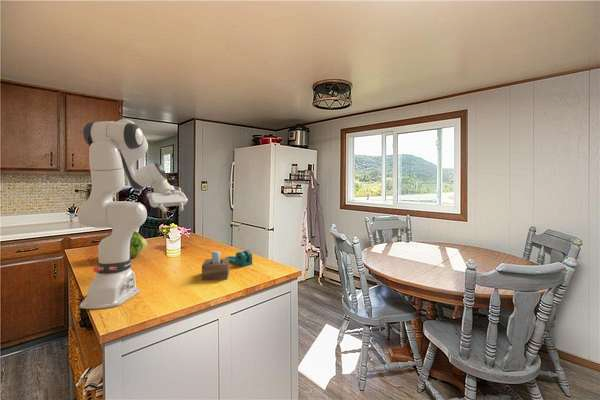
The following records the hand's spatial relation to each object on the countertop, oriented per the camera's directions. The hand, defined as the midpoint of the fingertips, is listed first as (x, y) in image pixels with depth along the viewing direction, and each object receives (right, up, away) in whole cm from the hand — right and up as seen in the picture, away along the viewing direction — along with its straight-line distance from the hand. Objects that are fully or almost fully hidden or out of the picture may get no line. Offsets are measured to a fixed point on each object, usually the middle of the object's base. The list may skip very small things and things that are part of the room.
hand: (174, 210), depth 160 cm
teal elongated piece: (+31, -31, +14) cm, 46 cm away
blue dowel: (+25, -32, -10) cm, 42 cm away
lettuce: (-39, -30, +22) cm, 53 cm away
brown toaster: (+25, -32, -9) cm, 42 cm away
